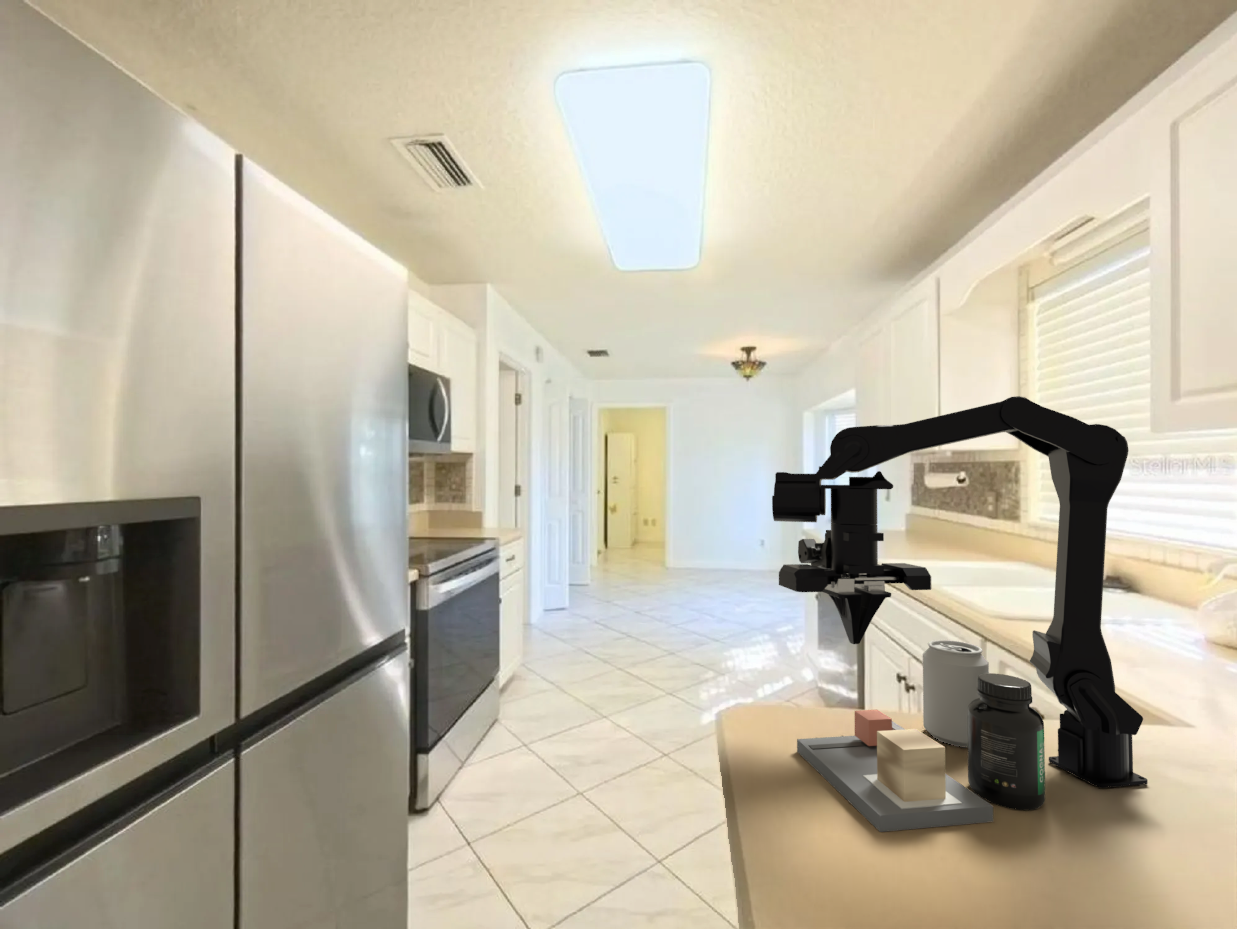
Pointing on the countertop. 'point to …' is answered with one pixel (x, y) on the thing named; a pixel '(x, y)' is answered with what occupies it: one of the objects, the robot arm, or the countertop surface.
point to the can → (950, 688)
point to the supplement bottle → (1006, 744)
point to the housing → (911, 765)
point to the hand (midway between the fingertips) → (854, 643)
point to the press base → (857, 781)
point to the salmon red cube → (871, 725)
